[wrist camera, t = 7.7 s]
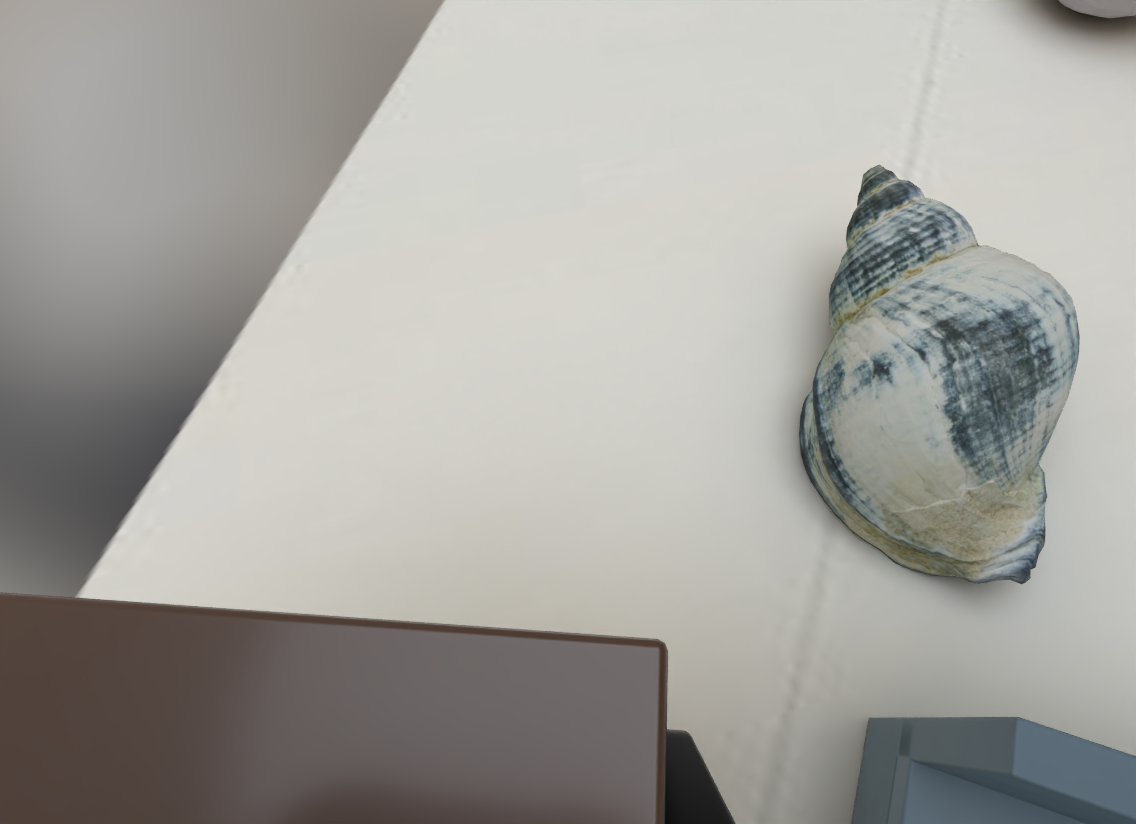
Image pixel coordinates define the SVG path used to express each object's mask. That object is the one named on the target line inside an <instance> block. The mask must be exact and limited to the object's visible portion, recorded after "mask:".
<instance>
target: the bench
mask: <svg viewBox="0 0 1136 824" xmlns="http://www.w3.org/2000/svg"><path fill="white" fill-rule="evenodd" d="M852 824H1136V756H1133V755H1130V754H1127V753H1124V752H1121V751H1118V750H1115V749H1112V748H1109V747H1106V746H1103V745H1100V744H1097V743H1094V742H1091V741H1088V740H1085V739H1082V738H1079V737H1076V736H1073V735H1070V734H1067V733H1064V732H1061V731H1058V730H1055V729H1052V728H1049V727H1046V726H1043V725H1040V724H1037V723H1034V722H1031V721H1028V720H1025V719H1023V718H1020V717H936V718H869V722H868V728H867V734H866V739H865V745H864V753H863V759H862V765H861V771H860V777H859V783H858V789H857V794H856V800H855V806H854V812H853V818H852Z"/></svg>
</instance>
